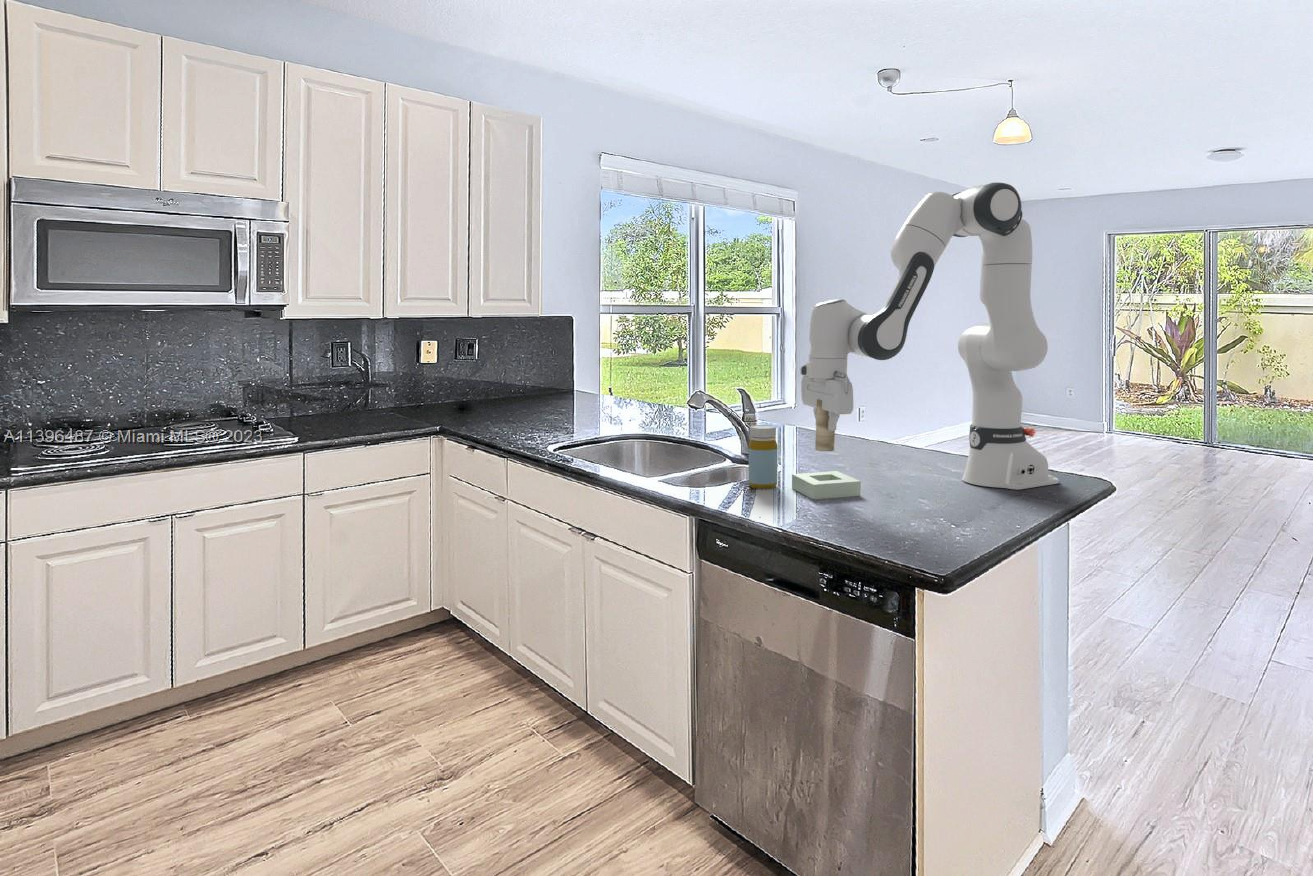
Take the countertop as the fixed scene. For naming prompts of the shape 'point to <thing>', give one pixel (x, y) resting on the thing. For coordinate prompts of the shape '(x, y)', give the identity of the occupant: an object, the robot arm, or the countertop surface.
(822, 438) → the peg
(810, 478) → the socket
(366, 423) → the countertop surface
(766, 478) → the bottle
